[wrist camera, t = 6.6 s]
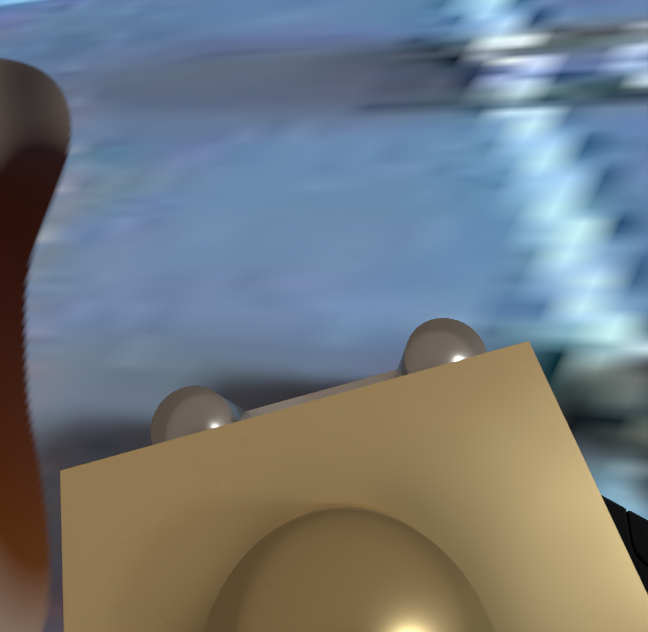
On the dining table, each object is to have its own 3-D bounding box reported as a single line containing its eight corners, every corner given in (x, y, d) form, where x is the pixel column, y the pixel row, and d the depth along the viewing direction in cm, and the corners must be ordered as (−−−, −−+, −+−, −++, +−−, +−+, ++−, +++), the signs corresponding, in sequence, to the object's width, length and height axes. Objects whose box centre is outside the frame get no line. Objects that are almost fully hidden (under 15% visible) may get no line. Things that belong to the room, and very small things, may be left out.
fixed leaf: (564, 744, 14) (777, 1017, 7) (291, 825, 14) (221, 1195, 7) (431, 372, 18) (476, 307, 11) (223, 430, 18) (138, 400, 11)
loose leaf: (448, 571, 15) (980, 1078, 2) (303, 612, 14) (-63, 1420, 2) (408, 447, 16) (571, 303, 4) (277, 483, 16) (-20, 465, 3)
